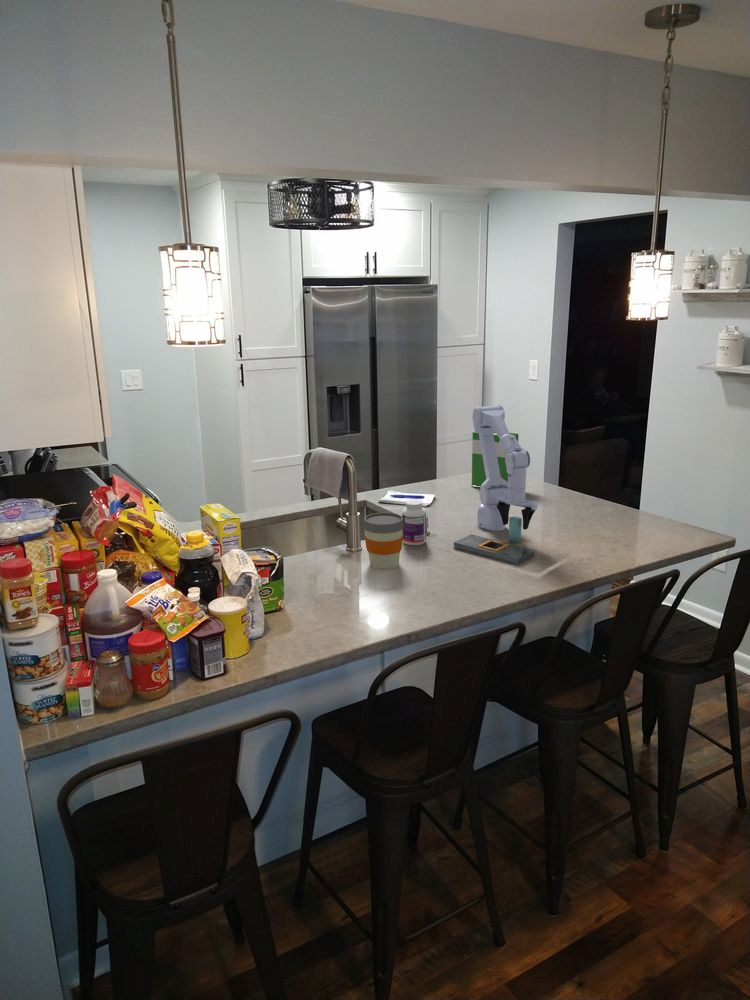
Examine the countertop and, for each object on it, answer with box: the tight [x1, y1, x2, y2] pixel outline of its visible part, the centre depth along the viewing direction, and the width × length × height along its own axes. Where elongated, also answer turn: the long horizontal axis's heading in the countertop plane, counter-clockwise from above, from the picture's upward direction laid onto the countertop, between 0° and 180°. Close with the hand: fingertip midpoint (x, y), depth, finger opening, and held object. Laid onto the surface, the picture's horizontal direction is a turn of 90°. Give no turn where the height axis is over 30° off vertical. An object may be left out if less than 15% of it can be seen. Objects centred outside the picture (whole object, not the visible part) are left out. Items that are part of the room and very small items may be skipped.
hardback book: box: [471, 431, 519, 488], centre depth 302 cm, size 18×7×24 cm, turn 52°
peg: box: [508, 516, 523, 543], centre depth 237 cm, size 4×4×8 cm
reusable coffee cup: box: [363, 512, 404, 570], centre depth 221 cm, size 13×12×15 cm
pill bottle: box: [401, 499, 427, 547], centre depth 239 cm, size 8×8×14 cm
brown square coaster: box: [499, 536, 532, 547], centre depth 238 cm, size 8×8×1 cm
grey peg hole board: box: [453, 533, 535, 569], centre depth 228 cm, size 24×10×3 cm, turn 48°
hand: (515, 526), depth 236 cm, fingers open, 7 cm apart
